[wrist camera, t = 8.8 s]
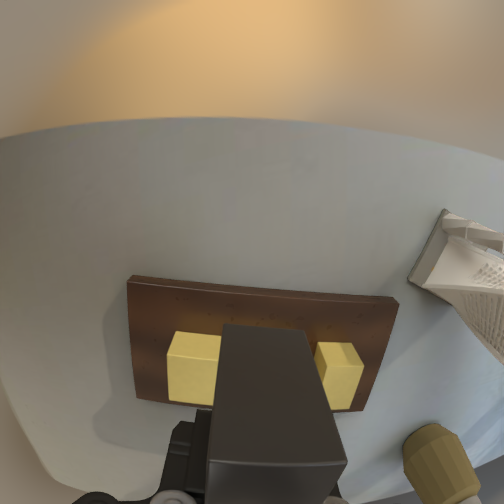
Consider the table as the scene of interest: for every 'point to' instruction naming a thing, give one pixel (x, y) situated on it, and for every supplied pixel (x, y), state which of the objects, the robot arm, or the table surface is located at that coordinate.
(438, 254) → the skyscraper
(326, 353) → the butter slice
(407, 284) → the table surface
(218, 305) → the board
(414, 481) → the squeeze bottle
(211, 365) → the butter
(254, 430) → the knife
